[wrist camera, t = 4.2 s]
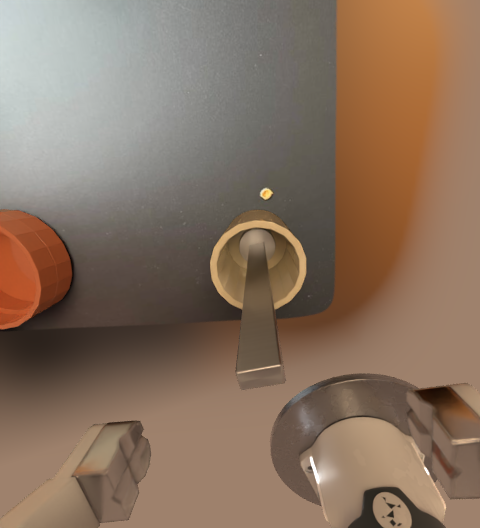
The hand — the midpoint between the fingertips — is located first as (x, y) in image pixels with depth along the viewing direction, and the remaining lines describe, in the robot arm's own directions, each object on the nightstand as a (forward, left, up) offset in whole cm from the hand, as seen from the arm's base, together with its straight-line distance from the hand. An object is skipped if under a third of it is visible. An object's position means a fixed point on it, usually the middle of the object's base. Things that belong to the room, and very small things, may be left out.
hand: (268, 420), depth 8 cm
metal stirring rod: (0, 0, -26) cm, 26 cm away
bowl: (+5, +32, -26) cm, 42 cm away
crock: (0, 0, -26) cm, 26 cm away
